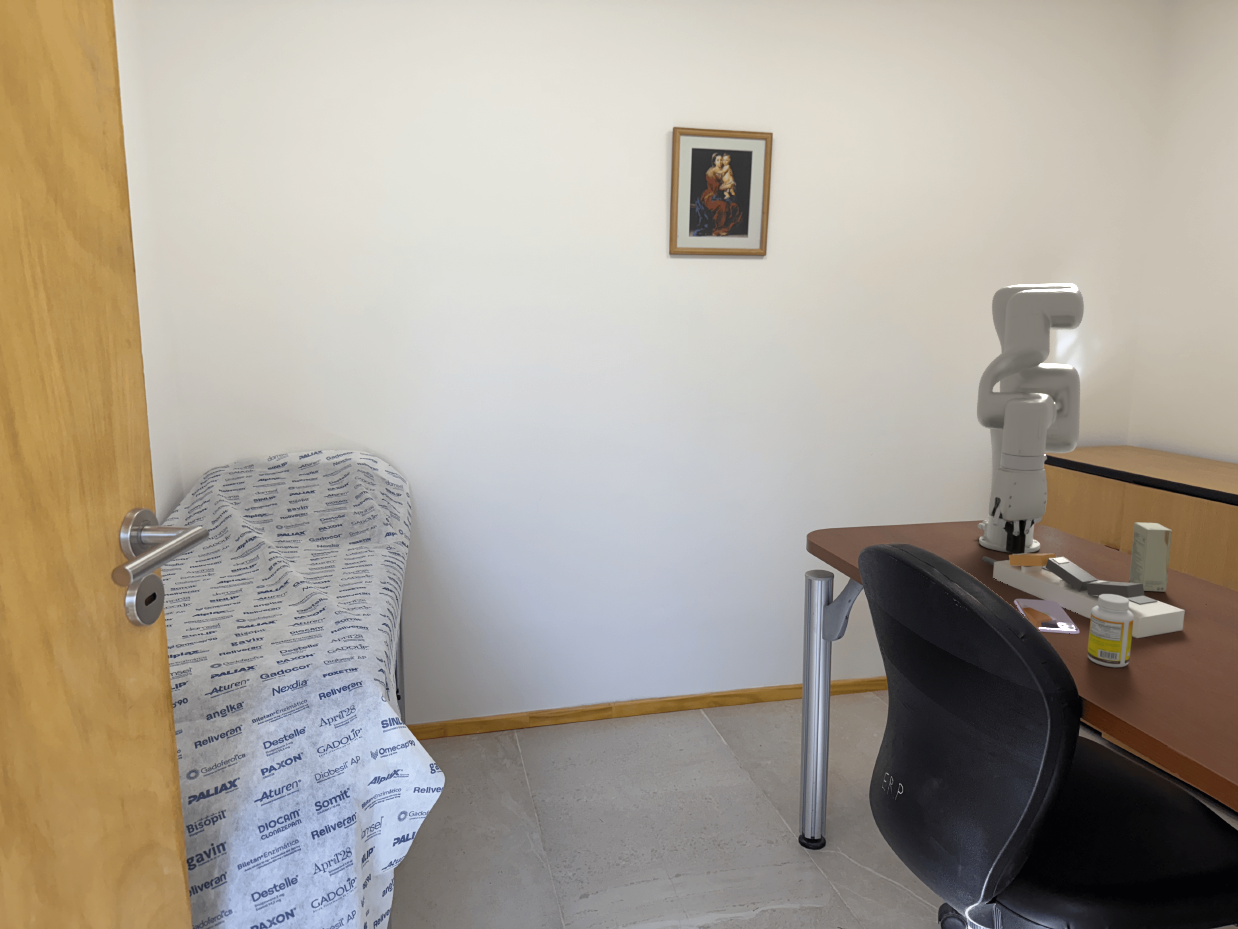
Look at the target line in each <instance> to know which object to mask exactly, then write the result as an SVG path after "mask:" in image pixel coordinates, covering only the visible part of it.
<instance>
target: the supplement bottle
mask: <svg viewBox="0 0 1238 929" xmlns="http://www.w3.org/2000/svg"><path fill="white" fill-rule="evenodd" d="M1128 608H1129V600H1128V599H1127V598H1125V597H1122V596H1119V595H1114V594H1101V595H1099V598H1098V606H1095V607H1093V608H1092V610H1091V619H1090V620H1089V621H1090V623H1089V632H1088V642H1087V643H1088V644H1087V657H1088V659H1089V660H1090V661H1091V662H1093V663H1095V664H1097V665H1101V666H1104V667H1109V668H1124V667H1126V666H1128V665H1129V663H1130V659H1131V658H1130V657H1131V648H1132V638H1133V636H1132V630H1133V620H1134V616H1133V614H1132V612H1130V611H1129V610H1128Z"/></svg>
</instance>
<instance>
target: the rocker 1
mask: <svg viewBox="0 0 1238 929" xmlns="http://www.w3.org/2000/svg"><path fill="white" fill-rule="evenodd" d="M1056 557H1057V554H1056V553H1045V552H1044V553H1037V552H1036V553H1035V552H1030V553H1021V554H1013V553H1012V554H1009V555H1008V558H1009V559H1008V560H1010V565H1019V566H1046V565H1047V562H1048V559H1049V558H1056Z"/></svg>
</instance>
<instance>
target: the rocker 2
mask: <svg viewBox="0 0 1238 929" xmlns="http://www.w3.org/2000/svg"><path fill="white" fill-rule="evenodd" d="M1046 568H1047V569H1048V570H1050V571H1051V572H1052V573H1054V574H1055V575H1057V576H1058V577H1060V578H1061V579H1062V580H1064V581H1065V582H1067V583H1068V584H1069V585H1071V586H1072V587H1074V588H1075V589H1077V590H1078V591H1085V590H1087V584H1086V583H1091V582H1096V581H1098V580H1099V579H1098V578H1096V577H1094V576H1093V575H1092V574H1090V573H1089V572H1088V571H1086V570H1085V569H1083V568H1082V567H1080V566H1078V565H1077V564H1075V563H1074V562H1072V561H1071V560H1070V559H1068V558H1067V557H1065V556H1056V558H1049V559H1048V562H1047V565H1046Z"/></svg>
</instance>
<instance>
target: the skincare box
mask: <svg viewBox="0 0 1238 929" xmlns="http://www.w3.org/2000/svg"><path fill="white" fill-rule="evenodd" d="M1172 534H1173V532H1172V529H1171V528H1168V527H1166V526H1164V525H1162V524H1160V523H1158V522H1139V521H1137V522H1134V525H1133V536H1132V546H1131V548H1132V549H1131V558H1130V568H1129V579H1128V581H1130V582H1129V583H1143V588H1144V592H1162V593H1163V592H1164V593H1166V591H1167V586H1168V584H1167V583H1168V573H1169V564H1170V554H1171V543H1172Z"/></svg>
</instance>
